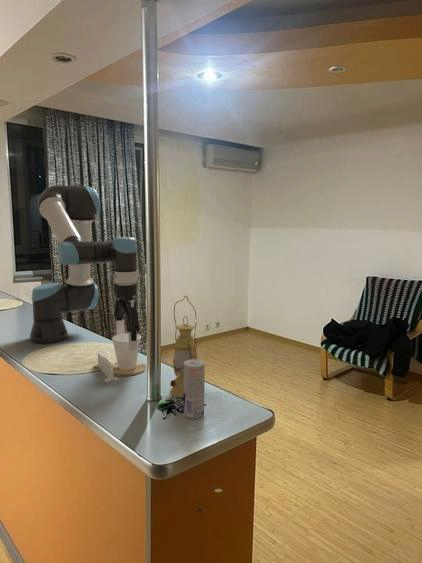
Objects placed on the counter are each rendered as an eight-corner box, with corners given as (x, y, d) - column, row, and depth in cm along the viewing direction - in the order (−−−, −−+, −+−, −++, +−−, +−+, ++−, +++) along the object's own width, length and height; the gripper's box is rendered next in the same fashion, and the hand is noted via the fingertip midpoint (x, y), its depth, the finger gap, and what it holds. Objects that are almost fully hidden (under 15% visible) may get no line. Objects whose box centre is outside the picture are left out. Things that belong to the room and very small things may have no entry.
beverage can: (208, 414, 111) (209, 362, 109) (194, 422, 107) (194, 367, 105) (193, 407, 115) (193, 356, 112) (179, 414, 111) (179, 362, 108)
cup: (135, 374, 137) (134, 342, 135) (107, 371, 139) (106, 340, 137) (145, 363, 146) (145, 334, 145) (119, 361, 148) (119, 332, 146)
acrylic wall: (93, 366, 145) (93, 352, 144) (104, 364, 147) (104, 350, 146) (106, 382, 131) (105, 367, 130) (118, 380, 133) (117, 365, 132)
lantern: (160, 389, 126) (159, 294, 121) (185, 381, 133) (186, 290, 128) (182, 403, 117) (183, 301, 112) (209, 394, 123) (210, 297, 118)
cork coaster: (103, 366, 145) (103, 364, 145) (138, 360, 151) (138, 358, 151) (114, 379, 134) (114, 377, 134) (151, 371, 140) (151, 370, 140)
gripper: (104, 278, 146) (105, 334, 150) (126, 291, 125) (127, 356, 129) (124, 276, 150) (125, 332, 154) (149, 289, 129) (149, 353, 132)
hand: (126, 343), depth 141 cm, fingers open, 13 cm apart
